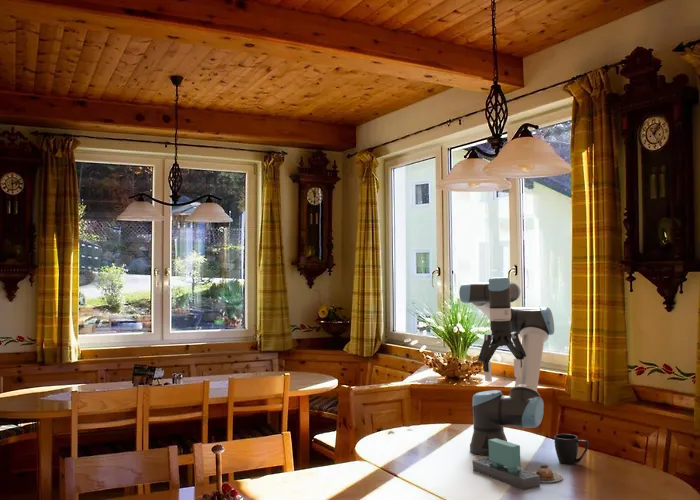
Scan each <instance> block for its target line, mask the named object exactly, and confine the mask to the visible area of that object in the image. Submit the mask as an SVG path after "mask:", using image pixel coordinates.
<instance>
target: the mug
mask: <svg viewBox="0 0 700 500" xmlns="http://www.w3.org/2000/svg"><path fill="white" fill-rule="evenodd" d="M553 439H554V441H553V442H554V449H555V453H556V457H557V459H558V463H559V464H560V465H564V466H573V465H576V464H578V463H580V462H581V461H582V459H583V458H584V456H585V455H586V452H587V451H588V449H589V447H590V444H589V443H590V442H589V441H588V440H586V439H579V437H578V436H577V435H575V434H570V433H560V434H555V435H554V438H553ZM580 442H584V443H585V445H586V446H585V449H584V451H583V453H582V454H581V455H580V457H578V453H579V443H580Z"/></svg>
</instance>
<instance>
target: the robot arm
mask: <svg viewBox="0 0 700 500" xmlns="http://www.w3.org/2000/svg"><path fill="white" fill-rule="evenodd" d="M458 293H459V300H460V301H461V302H462V303H465V304H473V306H475V307H477V308H478V309H479V311H480V312H482V313H483V314H484V315H486V317H488V318H489V322H490V323H489V324H490V326H489V327H490V329H489V330H490V331H491V334H488V333H487V334H484V336H483V340H484V341H483V342H482V346H481V349H480V353H479V355H478V358H477V361H478V362H481V363H482V366H483V367H482V368H483V372H484V381H486V382H493V381H492V380H493V379H492V376H493V375H492V362H490V361H491V359H492V358H493V356H494V354H495V352H496V350H497V349H498V348H499V347H503V346H504V347H507V348H508V350H509V351H510V353H511V354H512V355H513V356H514V358H515V359H513V369H514V371H513V372H514V378H515V383H514V386H513V387H511V388H510V390H509V392H508V393H509V394H507V395H505V394H503V392H502V390H497V389H495V390H494V389H493V390H485V391H479V392H476V393H475V394H473V396H472V421H473V422H472V424H473V426H472V427H473V432H472V437H471V442H470V444H469V451H470V452H471V453H472V454H474V453H475V454H474V455H479V456H488V457H489V444H488V440H490V439H495V438H497V439H500V440H503V441H507V442H508V439H507V437H506V434H505V432H504V426H505V427H515V428H524V429H530V428H532V429H534V428H538V427H539V426H540V425H541V423H542V420H543V416H544V408H545V404H544V400H543V398H542V397H541V395H540V393H539V392H538V385H539V379H540V372H541V363H542V356H543V350H544V344H545V343H546V342H547V341H548V340H549V336H553V335H554V333H555V323H554V322H555V321H554V316H553V312H552V310H551V308H550V307H547V306H512V304H511V303H513V302H515V301H517V300H518V299H519V298H520V296H521V288H520V286H519V285H518V284H517V283H515V282H513V281H510V278H509V277H507V276H505V277H504V276H503V277H502V276H501V277H490V278H489V279H488V282H469V283H462V284H461V285H460V287H459V292H458ZM519 336H520V337H519ZM520 338H521V340H522V341H521V340H520Z"/></svg>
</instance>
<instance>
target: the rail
mask: <svg viewBox="0 0 700 500" xmlns="http://www.w3.org/2000/svg"><path fill="white" fill-rule="evenodd" d="M472 471H473V472H476V473H478V474H479V475H480V474H481V475H484V476H486V477H488V478H491V479H493V480H497V481H499V482H502V483H504V484H507V485H510V486H511V487H514V488H517V489H519V490H523V491H526V490H531V489H536V488H539V487H541V482H540V481H541V480H540V476H539V475H537V474H534V473H531V471H528V470H525V469H522V468H520V467H518V472H516V473H510V472H508V467H507V466H504V465H502V466H501V467H497V468H496V467H493V466H492V461H490V460H489V457H485V458H484V457H483V458H480V459H473V460H472Z"/></svg>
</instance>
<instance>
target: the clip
mask: <svg viewBox="0 0 700 500" xmlns="http://www.w3.org/2000/svg"><path fill="white" fill-rule="evenodd" d="M488 444H489V456H488V458H489V460H490V461H492V466H493V467H496V468H497V467H501V466H502V465H504V466H507V467H508V472H510V473H516V472H518V468H521V467H522V465H521V445H519V444H517V443H516V444H515V443H512V442H509V441H508V440H507V441H503V440H500V439H497V438H495V439H490V440H488Z"/></svg>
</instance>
